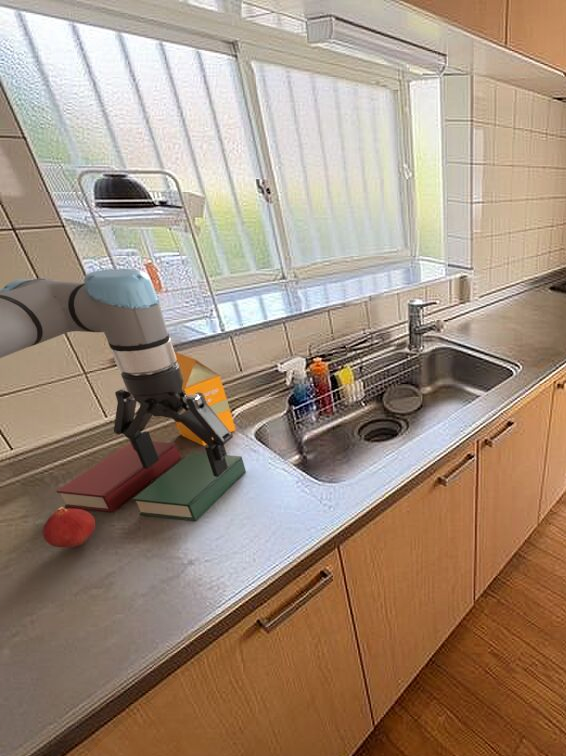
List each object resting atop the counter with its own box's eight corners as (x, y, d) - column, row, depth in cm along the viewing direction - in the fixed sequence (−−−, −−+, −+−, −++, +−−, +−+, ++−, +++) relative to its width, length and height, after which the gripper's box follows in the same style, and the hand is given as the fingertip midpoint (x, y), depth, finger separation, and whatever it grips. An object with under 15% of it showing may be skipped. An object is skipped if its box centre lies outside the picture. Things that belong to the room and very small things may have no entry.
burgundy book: (65, 507, 76) (56, 490, 74) (141, 454, 91) (135, 439, 89) (112, 512, 76) (103, 495, 74) (181, 458, 90) (175, 443, 88)
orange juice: (203, 446, 94) (175, 366, 85) (179, 435, 97) (150, 356, 88) (236, 429, 101) (214, 353, 91) (213, 419, 104) (189, 344, 95)
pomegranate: (47, 563, 66) (23, 526, 62) (64, 536, 71) (42, 500, 67) (95, 552, 68) (74, 516, 65) (108, 527, 73) (89, 492, 69)
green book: (140, 515, 76) (132, 498, 74) (198, 466, 88) (192, 451, 86) (196, 521, 75) (189, 504, 73) (246, 471, 88) (241, 456, 86)
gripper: (237, 364, 72) (262, 462, 82) (99, 350, 73) (140, 449, 83) (205, 384, 65) (236, 488, 75) (54, 368, 66) (104, 473, 76)
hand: (186, 468), depth 79 cm, fingers open, 13 cm apart
